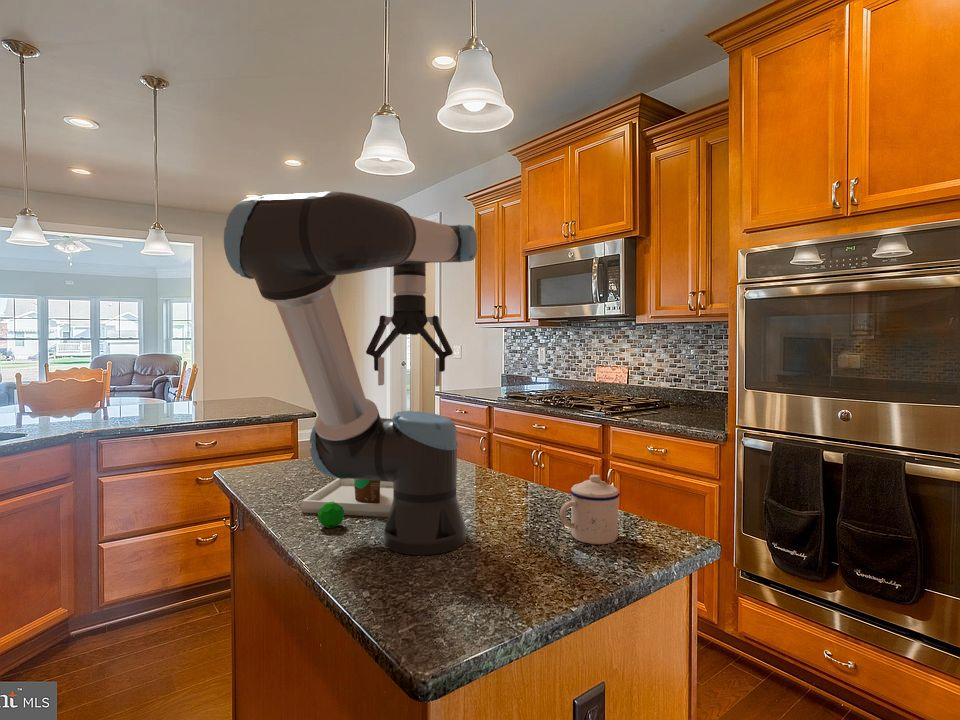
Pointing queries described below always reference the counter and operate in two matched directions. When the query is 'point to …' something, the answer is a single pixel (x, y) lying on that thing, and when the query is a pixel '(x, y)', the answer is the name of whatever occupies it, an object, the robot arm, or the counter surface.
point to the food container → (367, 491)
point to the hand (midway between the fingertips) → (409, 385)
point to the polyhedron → (331, 514)
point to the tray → (349, 499)
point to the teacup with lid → (593, 511)
